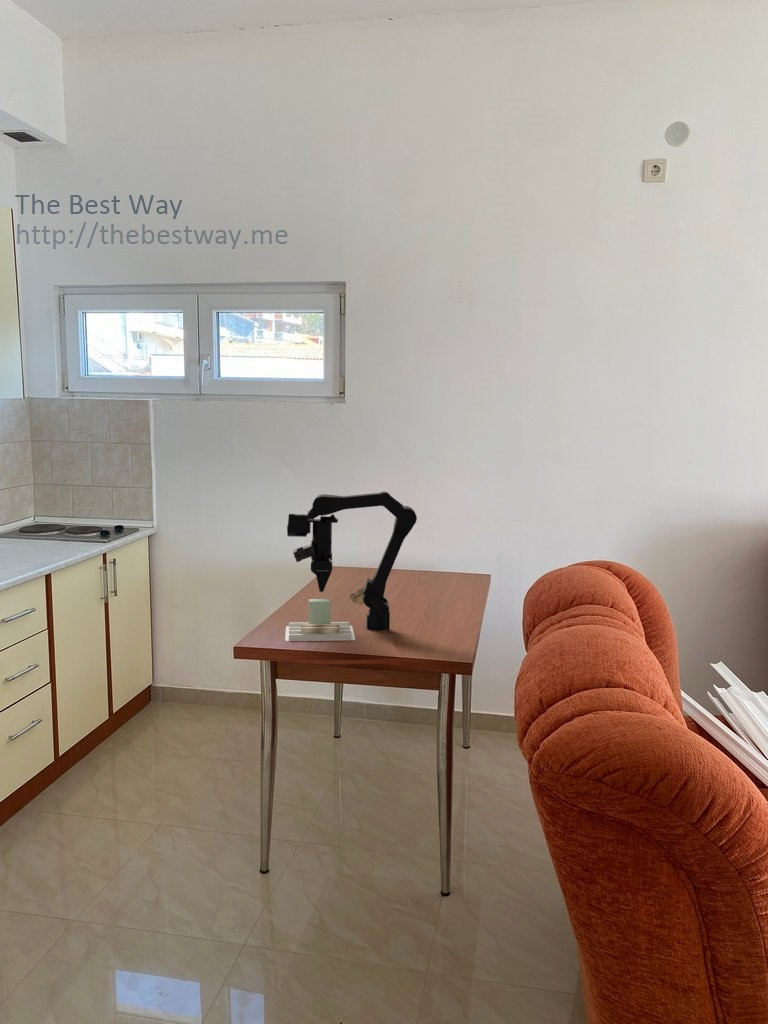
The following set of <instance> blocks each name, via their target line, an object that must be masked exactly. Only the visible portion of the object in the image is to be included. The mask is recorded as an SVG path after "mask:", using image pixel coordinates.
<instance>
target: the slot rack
mask: <svg viewBox="0 0 768 1024" xmlns="http://www.w3.org/2000/svg"><path fill="white" fill-rule="evenodd" d="M331 624H339V634H301V625H309V621H308V622H307V621H306V622H305V621H304V622H303V621H302V622H301V621H300V622H297V621H296V622H295V621H293V622H288V625H286V626H285V635H284V636H285V637H284V638H285V639H284V640H285V641H284V642H306V641H307V642H312V641H313V642H317V641H320V642H321V641H323V642H324V641H325V642H327V641H333V642H334V641H356V637H355V633H354V628H353V625H350V622H349V621H331Z"/></svg>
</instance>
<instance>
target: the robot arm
mask: <svg viewBox="0 0 768 1024" xmlns="http://www.w3.org/2000/svg"><path fill="white" fill-rule="evenodd" d="M373 507H384V508H385V509H386V510H387V512H389V513H391V514H392V515H393V516H394V517H395V518H394V524H393V529H392V533H391V537H390V538H389V540H388V543H387V546H386V548H385V550H384V553H383V555H382V557H381V560H380V562H379V564H378V567H377V569H376V572H375V574H374V575H373V577H372V578H369V577H367V578H366V580H365V585H363V587H364V588H363V587H362V588H363V589H362V594H363V601H364V602H363V603H364V605H365V607H367V608H369V609H368V611H367V612H368V613H367V614H366V615H365V618H366V621H365V623H366V624H365V627H366V630H373V631H386V630H387V633H388V634H391V629H390V628H391V627H390V619H391V615H390V614H391V613H390V606H389V605H390V604H389V600H388V599H387V598H386V597H385V590H386V586H387V581H388V579H389V577H390V573H391V571H392V569H393V567H394V564H395V561H396V559H397V557H398V556H399V555H398V554H399V552H400V550H401V547H402V545H403V543H404V541H405V539H406V537H407V536H408V535H409V534H410V532H411V530H412V529H413V527H414V526H415V524H416V523H417V520H418V518H417V517H418V516H417V514H416V511H415V510H414V509H413V507H410V506H409V505H403V504H402V503H401V502H399V501H398V500H397V499H395V498H394V497H393V496H392V495H391V494H390V493H389V492H388V491H381V492H373V493H363V494H362V493H361V494H355V495H354V494H353V495H335V494H326V493H323V494H322V493H321V494H319V495H317V496H316V497H314V500H313V502H312V507H311V509H309V510H308V511H307V514H303V513H302V514H298V513H296V514H295V513H289V514H288V519H287V525H286V526H287V527H286V531H287V533H286V535H287V537H289V538H291V537H297V538H298V537H299V538H301V537H302V538H303V537H304V538H305V537H307V536H308V535H309V534H311V528H312V540H311V543H310V544H308V545H307V544H306V545H304V546H301V547H297V548H295V549H294V550H293V551H292V554H293V557H294V558H295V559H294V560H295V561H296V563H300V562H301V561H303V560H306V559H309V558H310V559H311V561H310V572H311V573H313V574H314V575H315V577H316V580H317V581H316V582H317V586H318V590H319V592H320V593H323V592H324V591H325V588H326V585H327V583H328V581H329V579H330V577H331V574H332V572H333V552H332V545H333V543H332V540H333V539H332V538H333V537H332V534H333V524H335V523H338V522H339V518H337V517H336V516H335V514H334V513H338V512H340V511H343V510H344V511H345V510H353V509H362V508H364V509H365V508H373ZM327 515H330V516H327ZM319 516H320V517H319ZM317 517H319V518H317ZM315 518H316V519H315ZM311 524H312V525H311ZM311 526H312V527H311Z"/></svg>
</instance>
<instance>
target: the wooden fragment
mask: <svg viewBox="0 0 768 1024" xmlns="http://www.w3.org/2000/svg"><path fill="white" fill-rule="evenodd" d="M359 588H360V589H359ZM359 588H358V590H357V591H356V592H355V593H354V592H352V593H350V596H348V599H349V598H350V599H349V600H351V601H352V602H353V601H354V603H355V602H356V603H357V605H360V604H362V603H364V601H363V594H362V589H363V588H364V586H363V587H359ZM356 603H355V604H356Z"/></svg>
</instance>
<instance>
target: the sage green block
mask: <svg viewBox="0 0 768 1024" xmlns="http://www.w3.org/2000/svg"><path fill="white" fill-rule="evenodd" d="M331 603H332V601H331V598H313V599H312V598H308V622H309V624H331V622H332V620H331V613H332V612H331V611H332V610H331V609H332V604H331Z"/></svg>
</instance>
